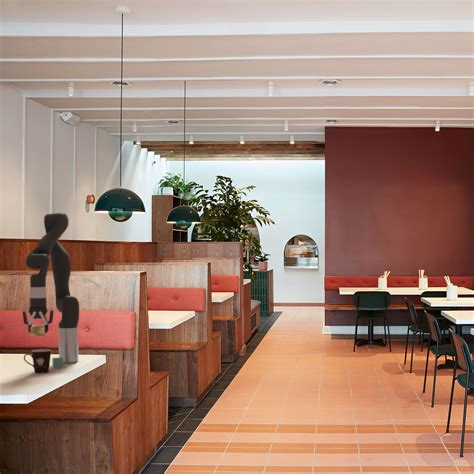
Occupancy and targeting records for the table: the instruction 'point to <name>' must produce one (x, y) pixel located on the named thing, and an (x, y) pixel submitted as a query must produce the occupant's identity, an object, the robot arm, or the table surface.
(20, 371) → the table surface
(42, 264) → the robot arm
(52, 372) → the table surface
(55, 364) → the green cube
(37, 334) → the oak block
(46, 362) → the coffee mug
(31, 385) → the table surface
